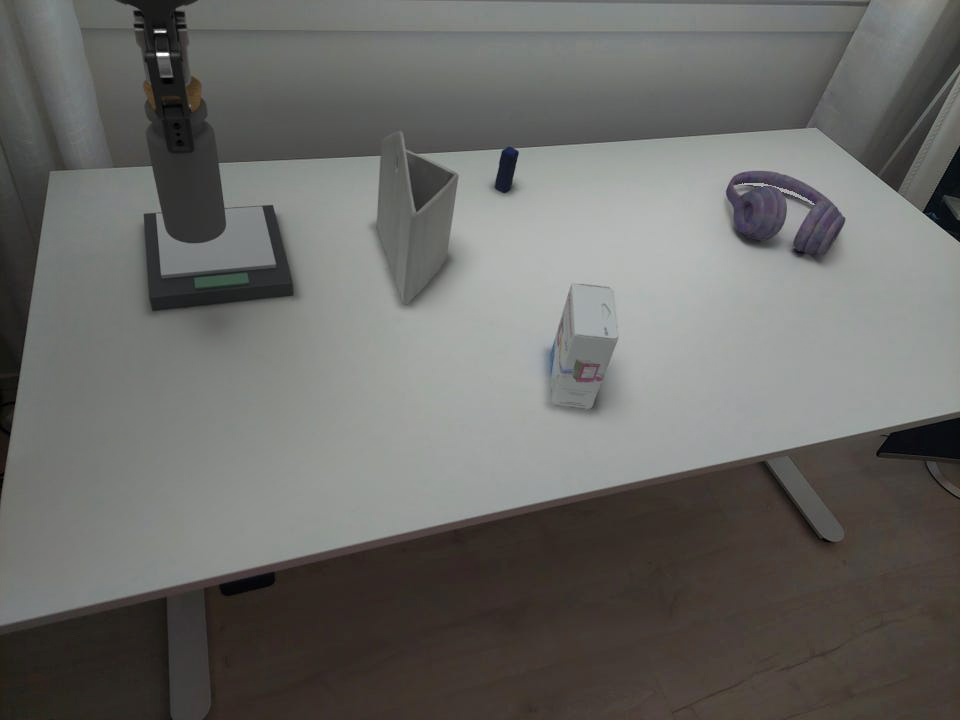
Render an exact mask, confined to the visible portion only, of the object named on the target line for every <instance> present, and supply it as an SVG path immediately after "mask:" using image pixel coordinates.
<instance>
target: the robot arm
mask: <svg viewBox="0 0 960 720" xmlns="http://www.w3.org/2000/svg"><path fill="white" fill-rule="evenodd" d="M198 1H199V0H115V2H118V3H120V4H122V5H125V6H127V5H128V6H131V7H134V8H133V9H132V14H133V20H134V22H133V24H132V25H133V33H134V37H135V43H136V45H137V46H138V47H139V48H140V51H141V56H142V57H141V58H142V64H143V70H144V76H145V80H147V82H148V83H149V84H150V85H151V86H152V91H153V96H154V101H155V105H156V108H155V114H156V115H158V119H159V120H162V124H163V129H164V134H165V139H166V145H167V150H168V151H169V152H170V153H172V154H180V153H192V152H193V151H194V141H193V135H192V129H191V122H190V114H192V112H191V104H189V102H188V96H187V89H186V86H187V85H188V84H190V82H191V76H192V73H191V66H190V60H189V51H188V47H189V45H190V37H189V29H188V23H187V22H188V21H187V16H186V10H185V9H179V8H181V7H183V6H184V7H186V6H190V5H192V4H195V3H196V2H198ZM163 96H178V97H180V98H181V99H173V100H163Z"/></svg>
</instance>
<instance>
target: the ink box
mask: <svg viewBox="0 0 960 720" xmlns="http://www.w3.org/2000/svg"><path fill="white" fill-rule="evenodd" d="M617 320H618V319H617V311H616V301H615V291H614V289H612V288H611V287H610V286H605V285H597V284H587V283H575V282H573V283H571V284H570V287H569V290H568V293H567V296H566V300H565V303H564V307H563V310H562V314H561V317H560V320H559V323H558V328H557V330H556V334H555V337H554V341H553V343H552V347H551V351H550V353H549V354H550V355H549V356H550V383H551V404H552V405H554V406H561V407H569V408H577V409H583V410H585V409H586V410H591V409H592V408H593V406H594V403H595V401H596V398H597V396H598V392H599V390H600V388H601V385H602V382H603V380H604V378H605V375H606V373H607V369H608V367H609V364H610V362H611V360H612V356H613V354H614V351H615V348H616V346H617V343H618V341H619V330H618V321H617Z"/></svg>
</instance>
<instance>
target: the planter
mask: <svg viewBox="0 0 960 720" xmlns="http://www.w3.org/2000/svg"><path fill="white" fill-rule="evenodd" d="M380 146H381V147H380V159H379V174H378V175H379V176H378V177H379V178H378V193H377V209H376V212H377V213H376V225H375V226H376V230H377V233H378V235H379V239H380V242H381V245H382V247H383V251H384V254H385V256H386V260H387V262H388V265H389V268H390V271H391V275H392V277H393V280H394V283H395V286H396V288H397V292H398V294H399V297H400V301H401V303H402V305H404V306H408V305H409V304H410V303H411V302H412V301H413V300H414V299H415V298H416V296H418V295H419V294H420V293H421V292H422V290H423V289H425V287H426V286H427V285H428V284H429V283H430V282H431V280H432V279H433V278H434V277H435V276H436V275H437V273H438V272H439V271H440V270H441V269H442V266H443V265H444V264H445V263H446V262H447V257H448V250H449V243H450V236H451V230H452V224H453V219H454V218H453V217H454V212H455V204H456V197H457V189H458V182H459V177H460V175H459V174H458V173H457V172H456V171H454V170H452V169H449V168H448V167H446V166H444V165H442V164H440V163H438V162H435V161H433V160H431V159H429V158H427V157H425V156H423V155H420V154H418V153H416V152H413V151H411V150H409V149H407V148H406V141H405V136H404V132H403V131H402V130H398V131H397V132H393V133H392V134H389V135H387V136H386V137H384V138H383V139H382V140H381V145H380Z"/></svg>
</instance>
